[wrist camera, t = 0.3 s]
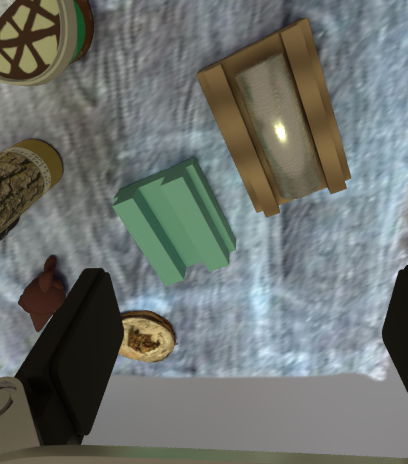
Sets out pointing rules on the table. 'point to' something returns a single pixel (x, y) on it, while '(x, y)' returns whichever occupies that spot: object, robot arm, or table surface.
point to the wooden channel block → (310, 101)
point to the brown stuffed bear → (43, 295)
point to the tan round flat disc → (146, 336)
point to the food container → (43, 39)
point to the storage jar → (9, 228)
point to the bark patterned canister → (26, 177)
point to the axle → (279, 126)
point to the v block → (176, 221)
